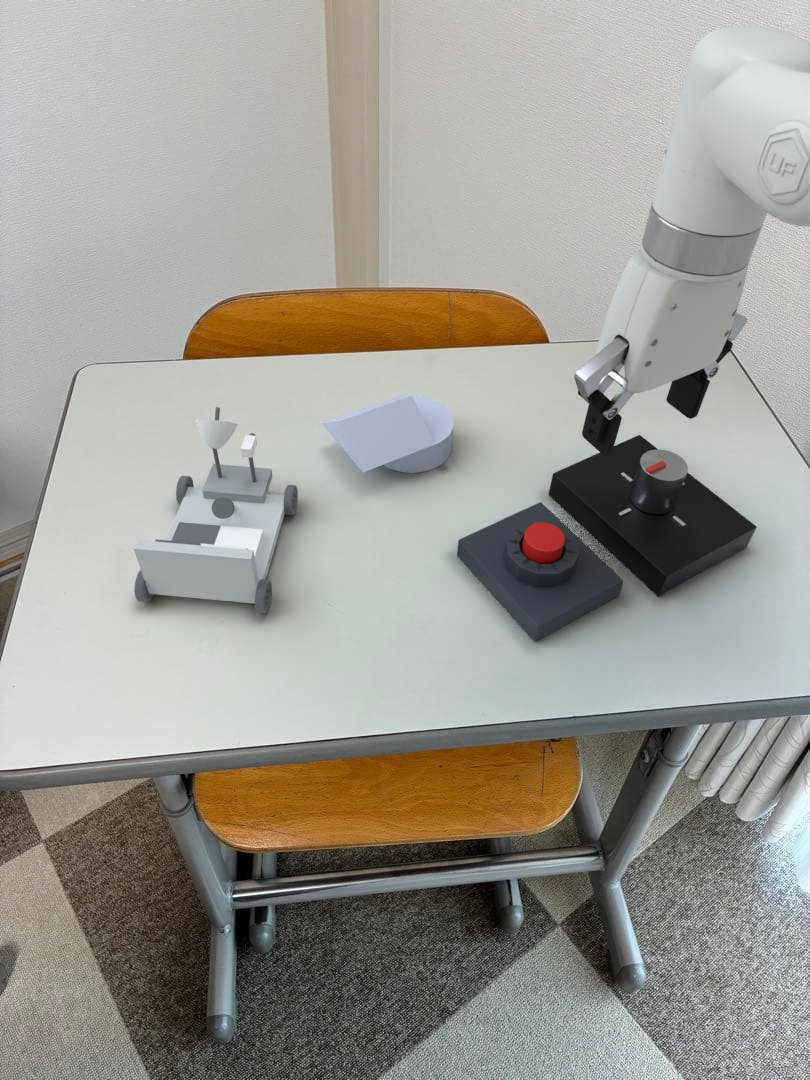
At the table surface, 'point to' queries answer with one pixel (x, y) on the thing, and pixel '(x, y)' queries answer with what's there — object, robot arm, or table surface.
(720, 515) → the stove panel
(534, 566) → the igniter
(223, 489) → the toy car
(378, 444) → the wedge on round base
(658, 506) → the burner knob
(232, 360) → the table surface
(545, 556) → the button
